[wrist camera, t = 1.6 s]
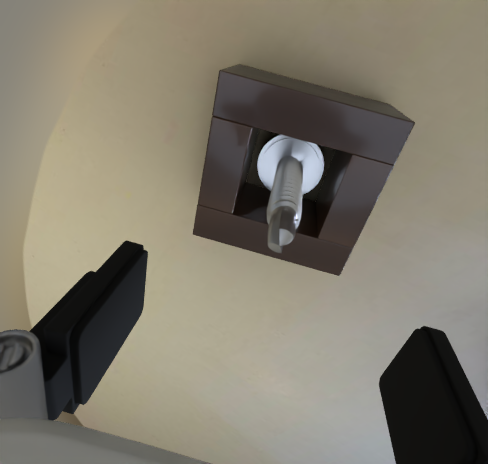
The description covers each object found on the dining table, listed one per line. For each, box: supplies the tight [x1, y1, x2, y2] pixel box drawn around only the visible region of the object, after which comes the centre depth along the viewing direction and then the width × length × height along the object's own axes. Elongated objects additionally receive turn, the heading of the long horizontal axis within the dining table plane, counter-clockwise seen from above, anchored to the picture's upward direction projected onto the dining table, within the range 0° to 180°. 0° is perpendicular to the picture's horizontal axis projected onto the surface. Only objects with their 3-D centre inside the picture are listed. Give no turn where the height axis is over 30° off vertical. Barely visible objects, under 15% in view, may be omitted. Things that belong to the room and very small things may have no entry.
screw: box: [257, 134, 324, 253], centre depth 20 cm, size 13×5×5 cm
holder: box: [193, 64, 415, 276], centre depth 23 cm, size 11×11×6 cm
